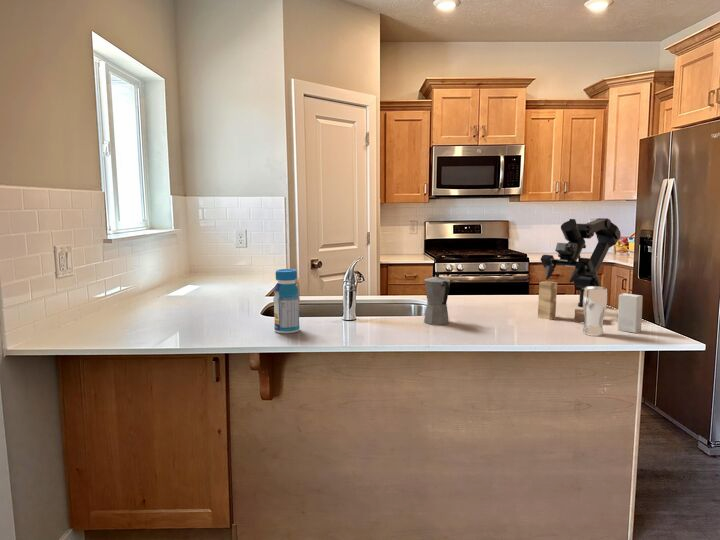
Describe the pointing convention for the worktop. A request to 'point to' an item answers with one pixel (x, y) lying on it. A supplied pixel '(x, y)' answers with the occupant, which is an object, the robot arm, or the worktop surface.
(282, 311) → the beverage bottle
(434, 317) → the coffeepot
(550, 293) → the pillar block
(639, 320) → the skincare box
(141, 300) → the worktop surface
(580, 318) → the square wooden tray
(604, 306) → the beer glass
